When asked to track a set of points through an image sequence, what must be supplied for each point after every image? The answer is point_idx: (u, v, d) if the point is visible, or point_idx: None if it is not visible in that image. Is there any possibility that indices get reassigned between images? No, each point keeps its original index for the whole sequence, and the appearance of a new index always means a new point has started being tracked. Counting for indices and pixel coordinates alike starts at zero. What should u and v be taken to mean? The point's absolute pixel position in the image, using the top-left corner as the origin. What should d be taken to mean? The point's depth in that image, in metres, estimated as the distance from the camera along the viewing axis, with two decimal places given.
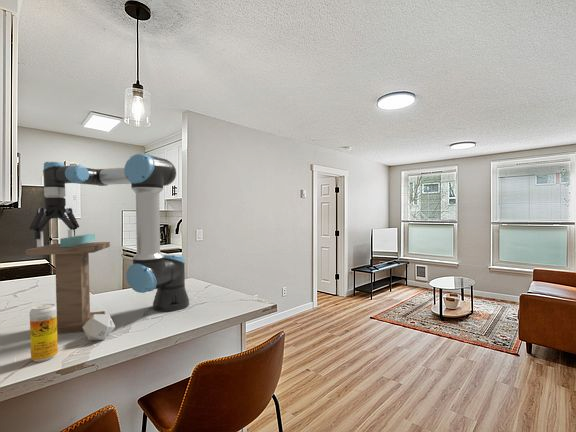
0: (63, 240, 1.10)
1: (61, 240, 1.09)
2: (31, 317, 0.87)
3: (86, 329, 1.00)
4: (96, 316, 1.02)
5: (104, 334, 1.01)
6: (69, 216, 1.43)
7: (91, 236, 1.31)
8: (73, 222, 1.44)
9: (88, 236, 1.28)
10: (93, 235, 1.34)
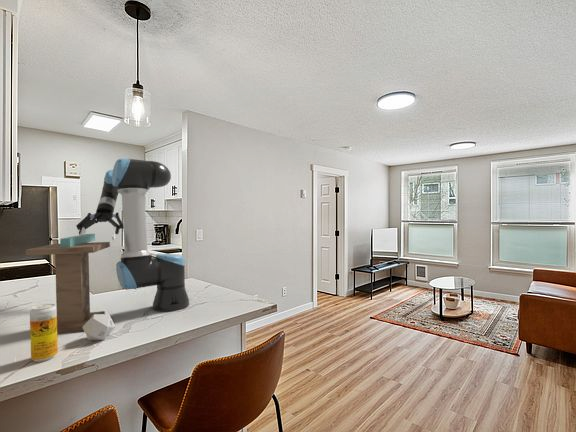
0: (63, 240, 1.10)
1: (61, 240, 1.09)
2: (31, 317, 0.87)
3: (86, 329, 1.00)
4: (96, 316, 1.02)
5: (104, 334, 1.01)
6: (117, 219, 1.56)
7: (91, 236, 1.31)
8: (119, 222, 1.54)
9: (88, 236, 1.28)
10: (93, 235, 1.34)
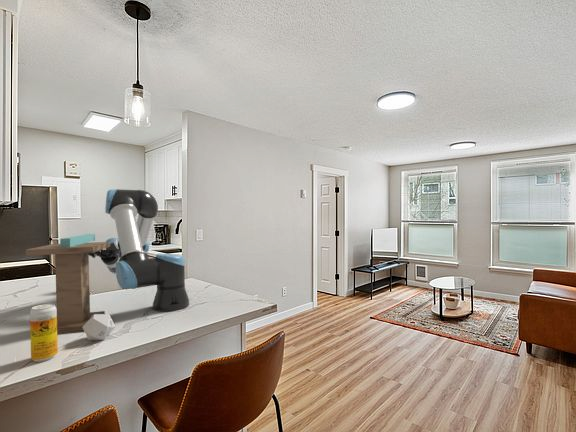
0: (63, 240, 1.10)
1: (61, 240, 1.09)
2: (31, 317, 0.87)
3: (86, 329, 1.00)
4: (96, 316, 1.02)
5: (104, 334, 1.01)
6: (120, 251, 1.57)
7: (91, 236, 1.31)
8: None
9: (88, 236, 1.28)
10: (93, 235, 1.34)
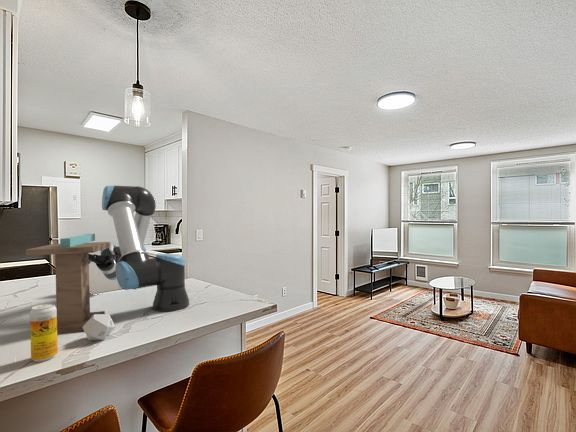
0: (63, 240, 1.10)
1: (61, 240, 1.09)
2: (31, 317, 0.87)
3: (86, 329, 1.00)
4: (96, 316, 1.02)
5: (104, 334, 1.01)
6: (116, 257, 1.50)
7: (91, 236, 1.31)
8: None
9: (88, 236, 1.28)
10: (93, 235, 1.34)
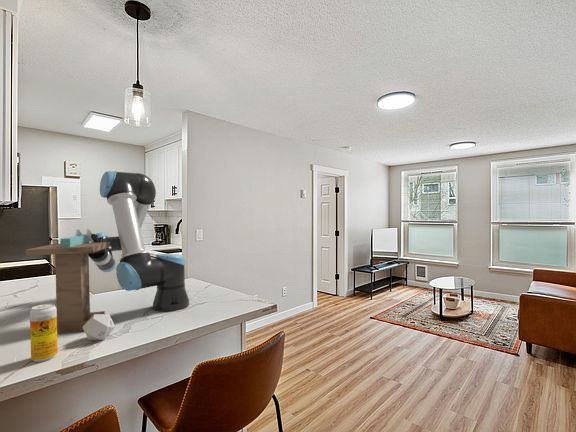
0: (63, 240, 1.10)
1: (61, 240, 1.09)
2: (31, 317, 0.87)
3: (86, 329, 1.00)
4: (96, 316, 1.02)
5: (104, 334, 1.01)
6: None
7: None
8: None
9: None
10: None
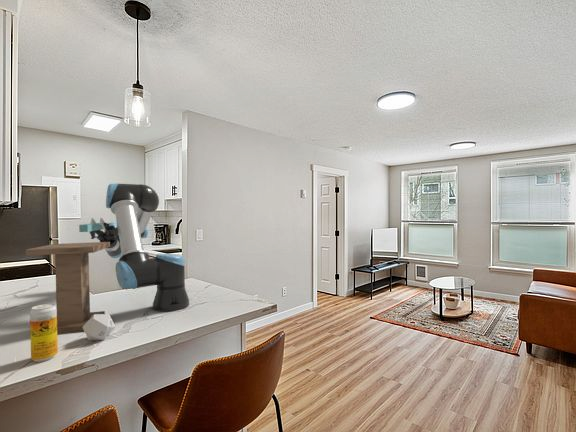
0: (82, 226, 1.28)
1: (80, 226, 1.28)
2: (31, 317, 0.87)
3: (86, 329, 1.00)
4: (96, 316, 1.02)
5: (104, 334, 1.01)
6: None
7: None
8: None
9: None
10: None
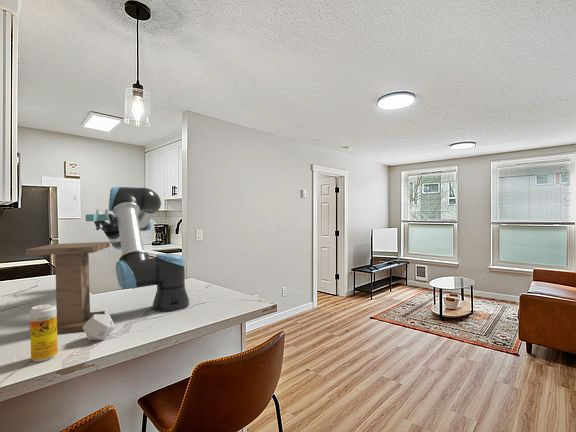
0: (88, 216, 1.34)
1: (86, 215, 1.33)
2: (31, 317, 0.87)
3: (86, 329, 1.00)
4: (96, 316, 1.02)
5: (104, 334, 1.01)
6: None
7: None
8: None
9: None
10: None
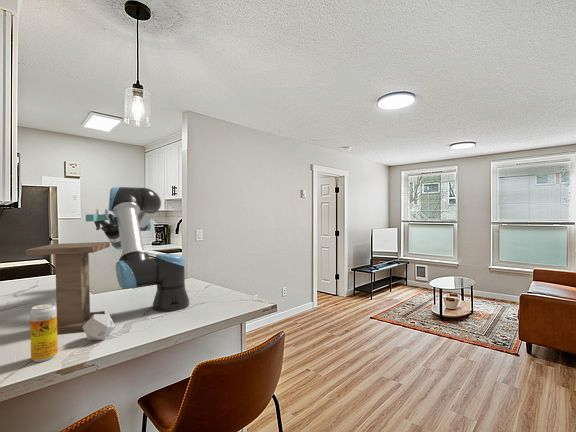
0: (88, 216, 1.34)
1: (86, 216, 1.33)
2: (31, 317, 0.87)
3: (86, 329, 1.00)
4: (96, 316, 1.02)
5: (104, 334, 1.01)
6: None
7: None
8: None
9: None
10: None
